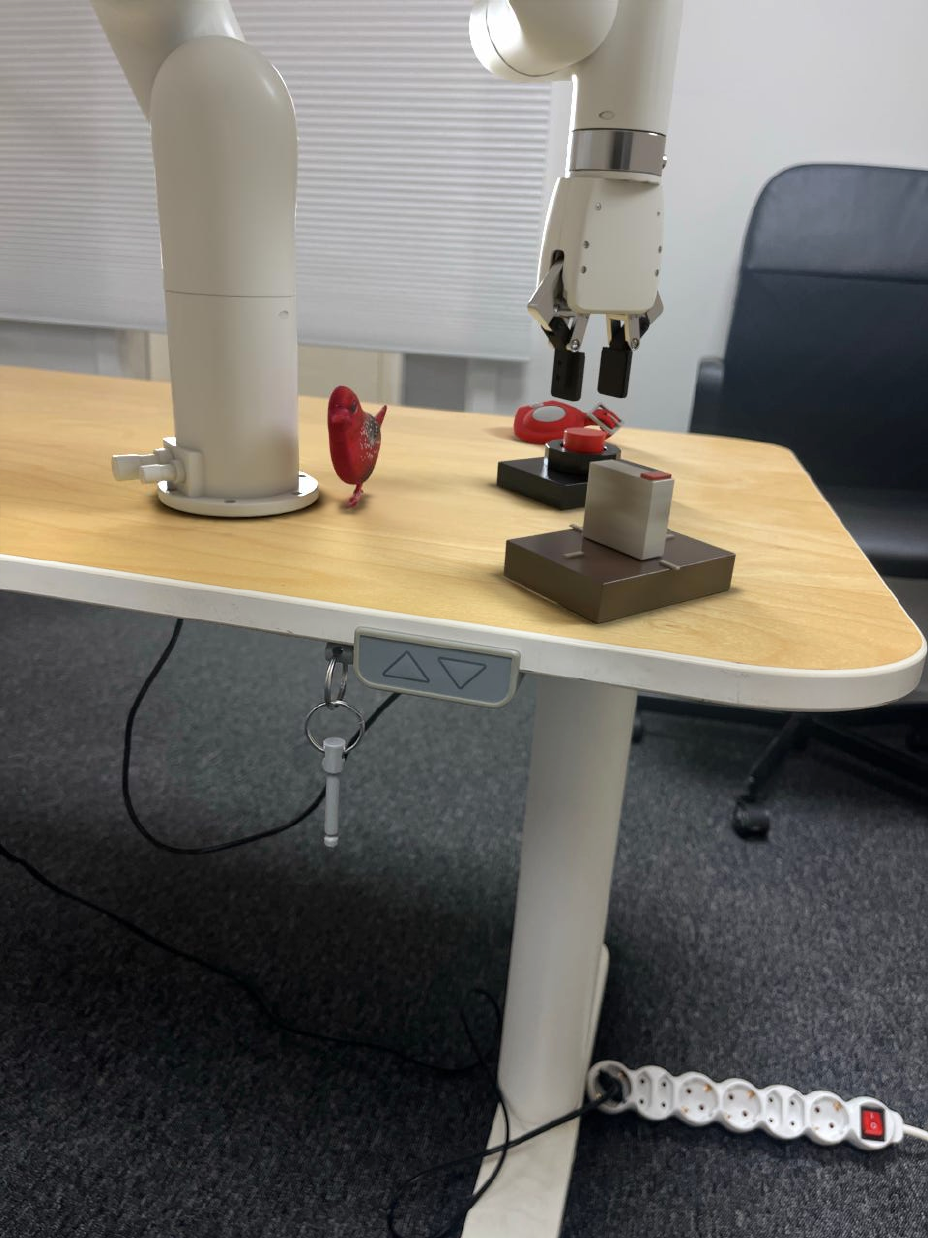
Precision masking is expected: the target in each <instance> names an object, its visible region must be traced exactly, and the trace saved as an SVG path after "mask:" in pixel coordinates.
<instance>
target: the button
mask: <svg viewBox="0 0 928 1238" xmlns="http://www.w3.org/2000/svg"><path fill="white" fill-rule="evenodd" d="M600 430H601V429H595V428H589V427H584V428H568V429H565V431H564V441H563V448H566V449H569V450H575V451H581V452H601V451H604V443H606V440H605V435H606V434H605V432H603V431H600Z"/></svg>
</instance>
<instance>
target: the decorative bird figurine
mask: <svg viewBox="0 0 928 1238" xmlns="http://www.w3.org/2000/svg"><path fill="white" fill-rule="evenodd" d="M387 410H388V406H387V405H386V404H385V405H383V406H382V407H381V408H380V409H379V411H378V412H377V414H375V416H374V415H373V414H371V413H370V412H367V411H365V410H363V408H362V404H361V401H360V400H359V397H358V395H357V394H356V393H355V392H354V391H353V390H352V389H351V388H350V387H348V386H346V385H338V386H336V387H334V389H333V390H332V391H331V393H330V396H329V398H328V403H327V416H326V417H327V418H326V419H327V421H326V422H327V425H326V426H327V432H328V447H329V454H330V455H329V456H330V460H331V463H332V466H333V470H334V472H335V473H336V475H337V476H338V478H339V480H341V481H342V482H343V483H345V484H346V485H347V484H348V485H351V486H355V489H354V490H353V491H352V496H351V497H350V498H349V500H348V504H347V505H346V509H348V508H349V507H355V506H357V504H358V503H359V501H360V500H361V498H362V494H364V490H363V489H362V487H363V485H364V483H365V482H367V481H368V480H369V478H370V477H371V476H372V474H373V472H374V470H375V468H376V465H377V463H378V462H377V461H378V458H379V453H380V449H381V442H382V440H381V439H382V431H381V427H382V424H383V422H384V419H385V417H386V414H387Z"/></svg>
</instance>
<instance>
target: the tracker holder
mask: <svg viewBox="0 0 928 1238" xmlns="http://www.w3.org/2000/svg"><path fill="white" fill-rule="evenodd" d="M625 424H626V421H625V420H624V419H623V418H621V417H620V416H618V415H617V414H616V413H615V412H614V411H613V410H611V409H610V408H609V407H608V406H606V404H605V403H603V402H601V401H599V402H598V403H596V405H594V406H593V407H592V408H591V409H589V411H587V412H584V411H582V410H580V409H579V408H577V407H575V406H573V405H571V404H567V403H565V402H562V401H558V400H554V399H552V400H551V399H550V400H546V401H542V402H540V401H535V402H532V403H530V404H528V405H524V406H519V407H518V408H517V410H516V413H515V416H514V420H513V426H512V428H513V429H512V430H513V434H514V436H516V438H519V439H520V440H522V441H524V442H527V443H530V444H537V445H546V443H548V442H550V441H552V440H559V439H564V431H565V429H568V428H587V427H591V426H594V427H595V426H596V427H597V426H598V427H599V430H600V431H603V432H605V434H606V435H605V441H606V440H608V439H610V438H612V436H614V435H615V434H616V433H617V432H618V431H619V430H620V429H621V428H622V427H623V426H625Z"/></svg>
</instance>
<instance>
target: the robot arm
mask: <svg viewBox="0 0 928 1238" xmlns="http://www.w3.org/2000/svg"><path fill="white" fill-rule="evenodd" d="M89 2H90V5H91V8H92V9H93V11H94V14H95V15H96V17H97V20H98V22H99V24H100V27H101V28H102V31H103V33H104V34H105V37H106V39H107V41H108V43H109V45H110V47H111V49H112V52H113V54H114V56H115V58H116V60H117V62H118V64H119V66H120V68H121V70H122V72H123V74H124V77H125V78H126V81H127V83H128V85H129V87H130V89H131V91H132V93H133V95H134V98H135V99H136V101H137V103H138V105H139V107H140V110H141V111H142V114H143V115H144V118H145V120H146V122H147V124H148V126H149V129H150V138H151V139H150V140H151V151H152V162H153V171H154V173H153V174H154V182H155V184H154V185H155V193H156V207H157V215H158V216H157V217H158V218H157V219H158V230H159V242H160V243H159V245H160V257H161V258H160V259H161V272H162V285H163V287H162V288H163V290H164V303H165V317H166V319H165V320H166V330H167V331H166V332H167V333H166V334H167V345H168V358H169V360H168V361H169V375H170V387H171V388H170V389H171V402H172V414H173V415H172V416H173V431H174V437H163V438H162V440H163V441H162V444H163V447H161V448H154V449H153V450H152V453H149V454H140V455H139V454H122V455H112V457H111V463H110V465H111V471H112V475H113V478H114V480H115V481H116V482H117V483H118V482H127V481H138V480H139V481H140V483H141V484H142V485H148V484H157V486H156V487H157V495H158V496H157V498H158V499H159V501H160V502H162V503H163V504H164V505H165V506H167V507H169V508H172V509H175V510H177V511H181V512H184V513H189V514H194V515H195V514H196V515H201V516H210V517H226V518H251V517H263V516H273V515H280V514H284V513H285V514H286V513H290V512H291V513H292V512H294V511H298V510H302V509H304V508H306V507H308V506H311V505H312V504H314V502H316V501H317V500H318V498H319V496H320V493H319V491H320V490H319V489H320V487H319V486H320V485H319V483H318V480H317V479H316V478H314V477H313V476H312V475H309V474H307V473H305V472H302V471H300V433H299V431H300V430H299V424H300V423H299V373H298V372H299V370H298V308H297V307H298V306H297V300H298V299H297V281H296V280H297V275H296V274H297V273H296V269H297V268H296V267H297V265H296V263H297V262H296V225H297V223H296V221H297V220H296V218H297V217H296V215H297V214H296V213H297V193H298V192H297V189H298V173H299V172H298V171H299V134H298V133H299V131H298V122H297V116H296V111H295V106H294V102H293V98H292V96H291V94H290V91H289V89H288V87H287V85H286V83H285V81H284V79H283V77H282V75H281V74H280V72H279V71H278V69H277V68H276V67H275V66H274V64H273V63H272V62H271V61H270V60H269V59H268V58H267V57H266V56H265V55H264V54H263V53H262V52H261V51H259V50H258V49H256V48H255V47H253V46H252V45H250V44H248V43H247V41H246V38H245V36H244V34H243V32H242V29H241V27H240V24H239V22H238V20H237V17H236V14H235V12H234V10H233V7H232V5H231V1H230V0H89ZM683 10H684V0H474V2H473V4H472V8H471V10H470V11H471V12H470V15H469V36H470V37H469V38H470V41H471V46H472V48H473V51H474V53H475V56H476V57H477V59H478V60H479V62H480V63H481V64H482V66H484V68H485V69H486V70H488V71H489V72H490V73H491V74H492V75H494V76H496V77H498V78H499V79H502V80H504V81H508V82H511V83H518V84H533V83H534V84H535V83H549V82H550V83H551V82H572V83H573V89H572V99H571V100H572V101H571V112H570V121H569V134H568V144H567V153H566V155H567V157H566V166H565V175H564V176H562V177H557V179H556V182H555V184H554V188H553V192H552V195H551V199H550V203H549V206H548V211H547V215H546V219H545V224H544V229H543V230H544V231H543V235H542V242H541V249H540V256H539V263H538V270H537V279H536V290H535V292H534V293H533V295H532V296H531V298H529V301H528V302H527V306H526V308H527V311H528V313H529V314H530V316H532V317H533V319H534V320H535V321H536V322H537V323H538V324H540V328H541V330H542V331H543V333H544V334H545V336H546V337H547V339H548V341H547V342H548V343H547V344H548V346H549V347H550V348H551V349H554V352H553V362H552V363H553V364H552V372H551V373H552V374H551V386H550V396H551V397H553V398H556V399H560V400H564V401H568V402H579V401H580V400H581V399H582V392H583V383H584V382H583V381H584V373H585V363H586V352H585V351H580V350H581V347H582V343H583V340H584V337H585V334H586V330H587V326H588V323H589V320H590V316H591V315H605V319H606V320H605V322H606V323H605V324H606V335H607V345H608V346H602V348H601V351H600V361H599V369H598V379H597V389H596V390H597V393H598V394H600V395H603V396H608V397H612V398H616V399H626V398H627V396H628V394H629V384H630V378H631V369H632V362H633V355H634V354H633V352H636V351H638V349H639V347H640V345H641V339H642V338H643V337H644V335H645V334H646V333H647V331H648V330H649V328H650V325H652V324H653V323H654V322H656V320H657V319H658V318H659V317H660V316H662V314H663V312H664V307H665V306H664V303H663V301H662V298H661V296H660V293H659V290H658V289H659V283H660V277H661V268H662V260H663V259H662V257H663V245H664V224H665V223H664V216H665V210H664V207H665V205H664V204H665V203H664V200H665V199H664V185H661V184H662V183H661V182H662V175H663V170H664V169H665V167H666V166H667V163H668V162H667V161H668V157H667V155H666V154H665V151H666V143H667V135H668V129H669V128H668V126H669V119H670V112H671V104H672V97H673V89H674V80H675V74H676V66H677V59H678V58H677V57H678V50H679V44H680V43H679V42H680V35H681V27H682V20H683V19H682V18H683ZM570 320H572V321H571V325H570V327H569V324H570ZM622 322H624V323H623V324H622Z"/></svg>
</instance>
